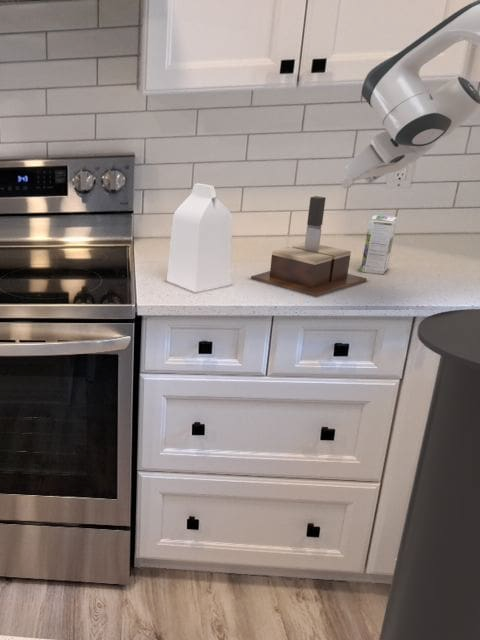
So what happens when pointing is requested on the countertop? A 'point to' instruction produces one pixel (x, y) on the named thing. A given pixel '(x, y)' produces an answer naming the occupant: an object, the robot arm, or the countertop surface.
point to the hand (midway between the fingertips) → (356, 183)
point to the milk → (201, 242)
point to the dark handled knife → (314, 223)
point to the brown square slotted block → (310, 270)
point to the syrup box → (378, 244)
